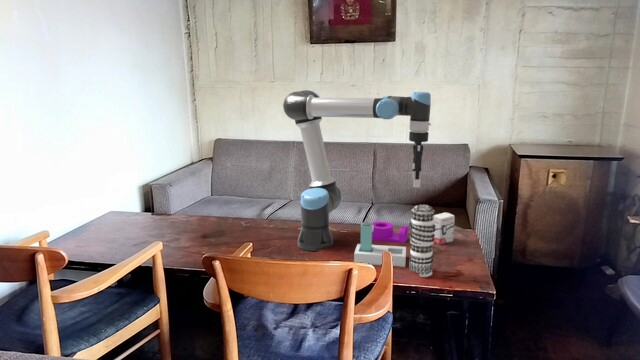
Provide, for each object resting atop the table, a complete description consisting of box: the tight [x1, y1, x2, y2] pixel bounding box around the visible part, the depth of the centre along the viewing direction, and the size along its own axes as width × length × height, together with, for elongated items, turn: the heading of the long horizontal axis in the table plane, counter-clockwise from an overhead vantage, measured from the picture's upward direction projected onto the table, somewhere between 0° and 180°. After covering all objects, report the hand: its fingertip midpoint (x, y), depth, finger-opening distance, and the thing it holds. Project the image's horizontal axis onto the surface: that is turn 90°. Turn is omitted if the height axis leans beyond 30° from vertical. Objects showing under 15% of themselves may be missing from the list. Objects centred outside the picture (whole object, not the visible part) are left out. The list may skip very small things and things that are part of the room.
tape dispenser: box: [371, 221, 410, 244], centre depth 205 cm, size 16×10×6 cm, turn 67°
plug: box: [360, 221, 374, 252], centre depth 180 cm, size 5×4×14 cm
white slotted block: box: [353, 243, 407, 268], centre depth 181 cm, size 19×10×5 cm, turn 79°
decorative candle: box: [408, 204, 436, 278], centre depth 169 cm, size 9×9×25 cm
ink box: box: [433, 211, 456, 246], centre depth 201 cm, size 8×5×12 cm, turn 123°
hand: (415, 182), depth 193 cm, fingers open, 13 cm apart
